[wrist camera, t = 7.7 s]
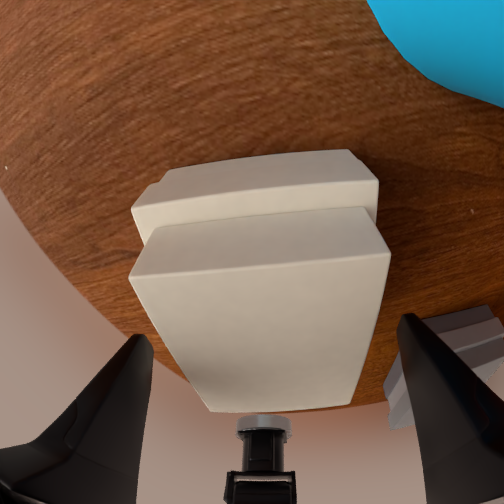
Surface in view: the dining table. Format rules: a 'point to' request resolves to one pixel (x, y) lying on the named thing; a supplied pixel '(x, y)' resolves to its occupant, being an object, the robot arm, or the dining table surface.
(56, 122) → the dining table surface
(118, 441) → the robot arm
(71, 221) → the dining table surface
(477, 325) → the grey pile
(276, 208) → the white pile
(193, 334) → the white block
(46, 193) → the dining table surface
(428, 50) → the mug
